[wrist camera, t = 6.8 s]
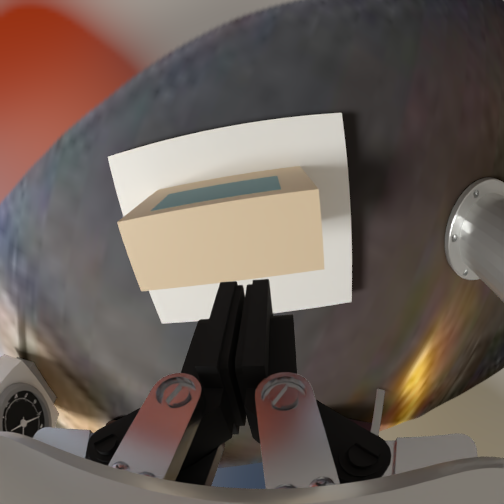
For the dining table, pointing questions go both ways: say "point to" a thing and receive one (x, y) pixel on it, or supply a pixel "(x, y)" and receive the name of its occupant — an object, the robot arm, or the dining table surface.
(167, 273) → the carton
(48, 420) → the alarm clock
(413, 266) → the dining table surface
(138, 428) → the robot arm
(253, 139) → the display podium
